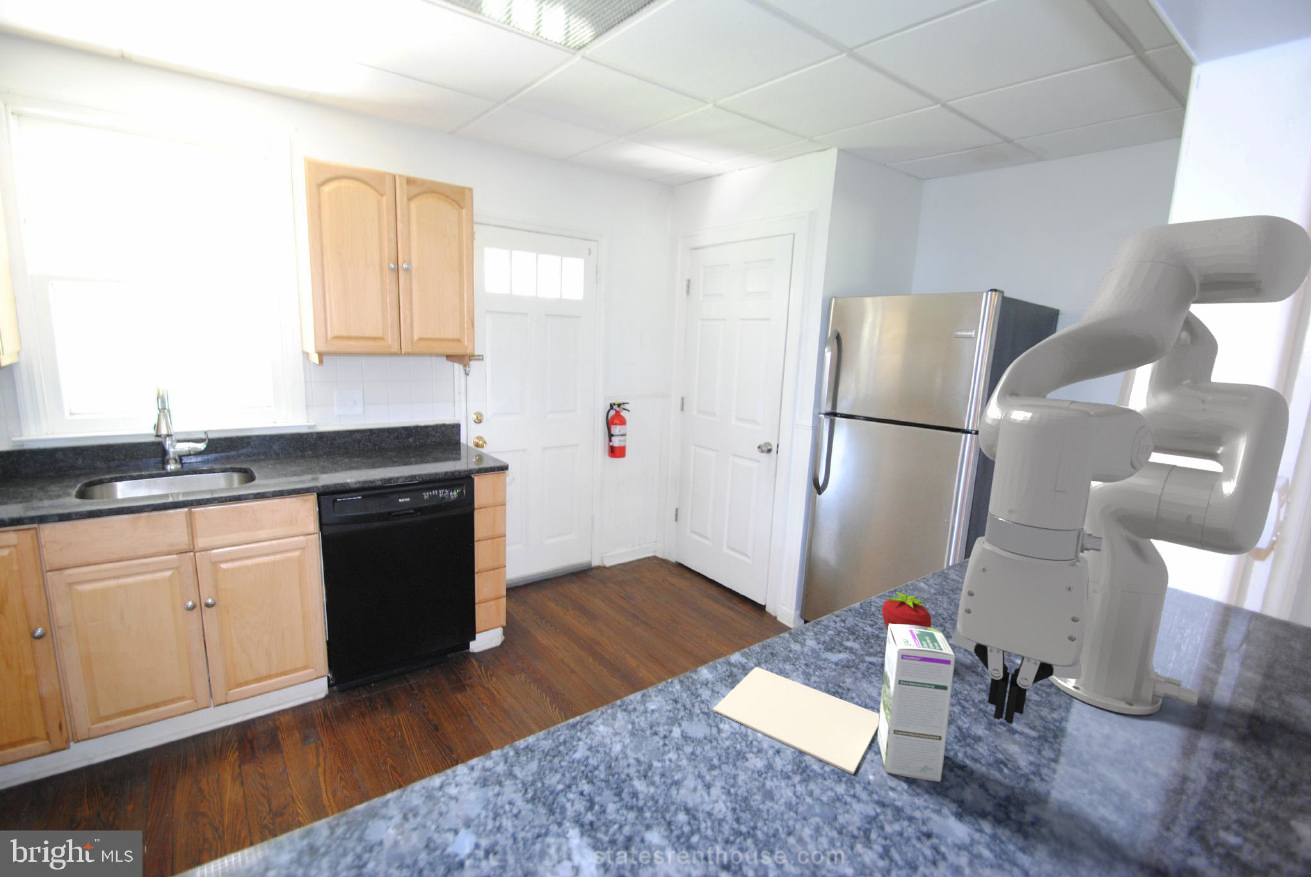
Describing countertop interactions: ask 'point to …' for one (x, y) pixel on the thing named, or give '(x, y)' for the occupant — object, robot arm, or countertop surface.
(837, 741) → the cream mat
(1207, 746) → the countertop surface
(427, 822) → the countertop surface
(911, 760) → the syrup box
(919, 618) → the strawberry
